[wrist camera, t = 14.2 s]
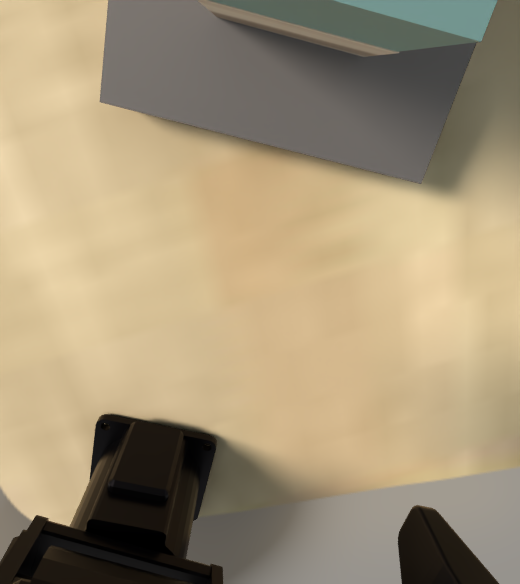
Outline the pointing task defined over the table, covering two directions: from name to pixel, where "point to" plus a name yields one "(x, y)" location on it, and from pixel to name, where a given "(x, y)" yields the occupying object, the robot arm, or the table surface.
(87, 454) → the table surface
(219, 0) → the teal block
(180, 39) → the base board
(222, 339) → the table surface
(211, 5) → the cream block
